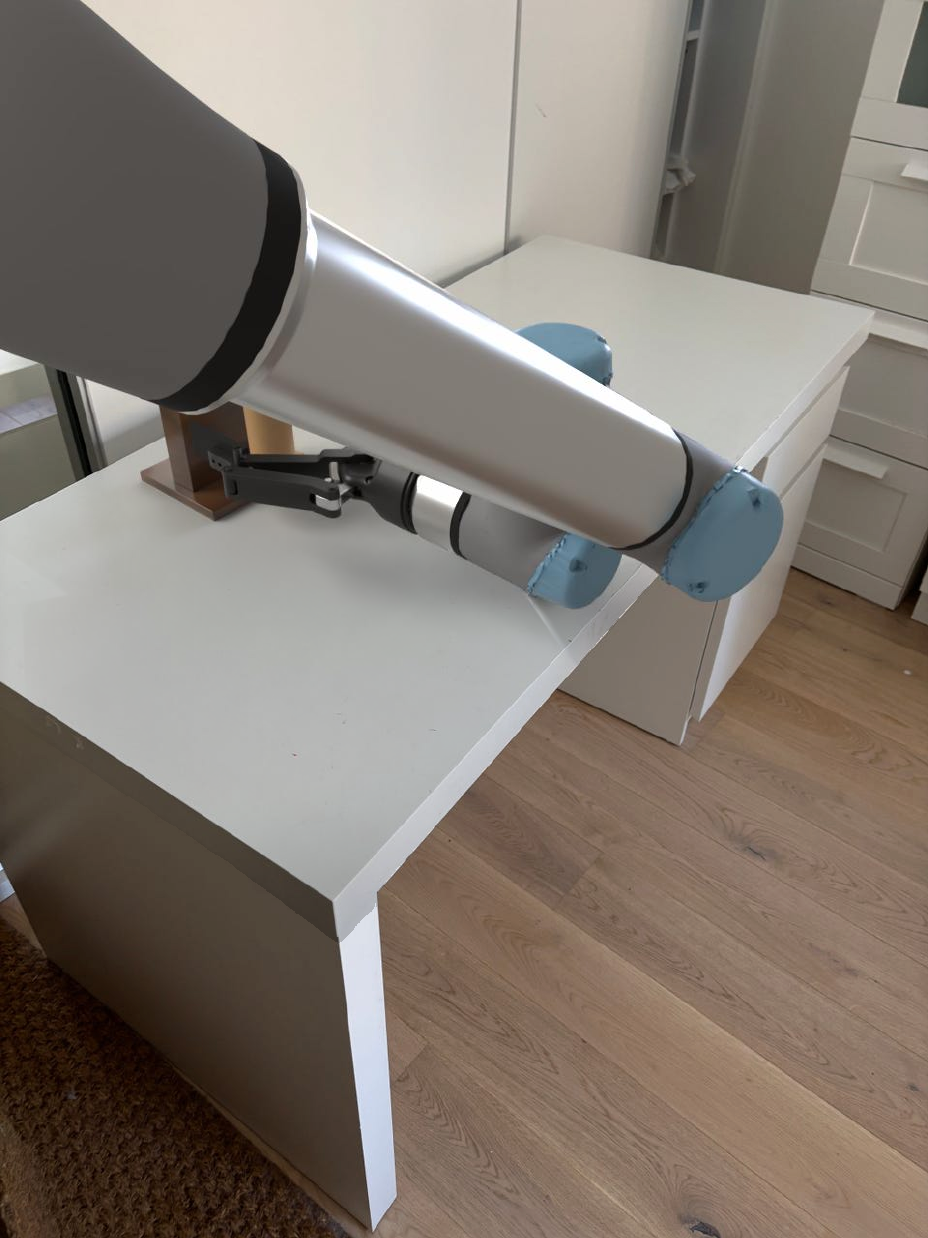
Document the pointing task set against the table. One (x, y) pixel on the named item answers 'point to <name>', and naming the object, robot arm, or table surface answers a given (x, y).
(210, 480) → the wooden stand
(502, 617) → the table surface
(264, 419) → the round pedestal table
